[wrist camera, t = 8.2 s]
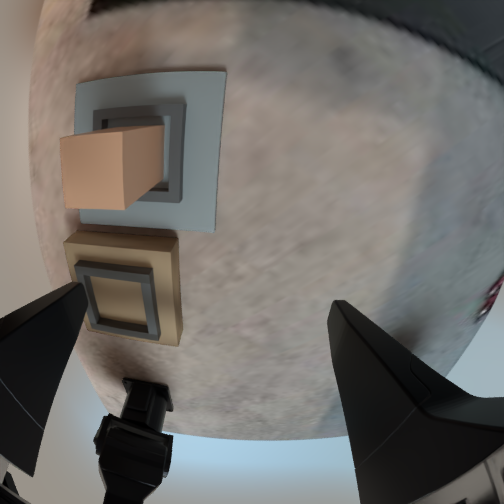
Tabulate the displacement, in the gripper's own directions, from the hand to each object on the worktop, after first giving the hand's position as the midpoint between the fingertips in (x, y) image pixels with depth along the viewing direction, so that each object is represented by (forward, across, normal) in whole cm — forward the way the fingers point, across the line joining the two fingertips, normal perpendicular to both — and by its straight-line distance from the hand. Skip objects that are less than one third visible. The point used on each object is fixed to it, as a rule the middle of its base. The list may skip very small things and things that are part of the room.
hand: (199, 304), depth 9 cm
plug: (+12, +7, -3) cm, 14 cm away
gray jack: (+13, +7, -3) cm, 15 cm away
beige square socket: (+13, +9, +8) cm, 18 cm away
